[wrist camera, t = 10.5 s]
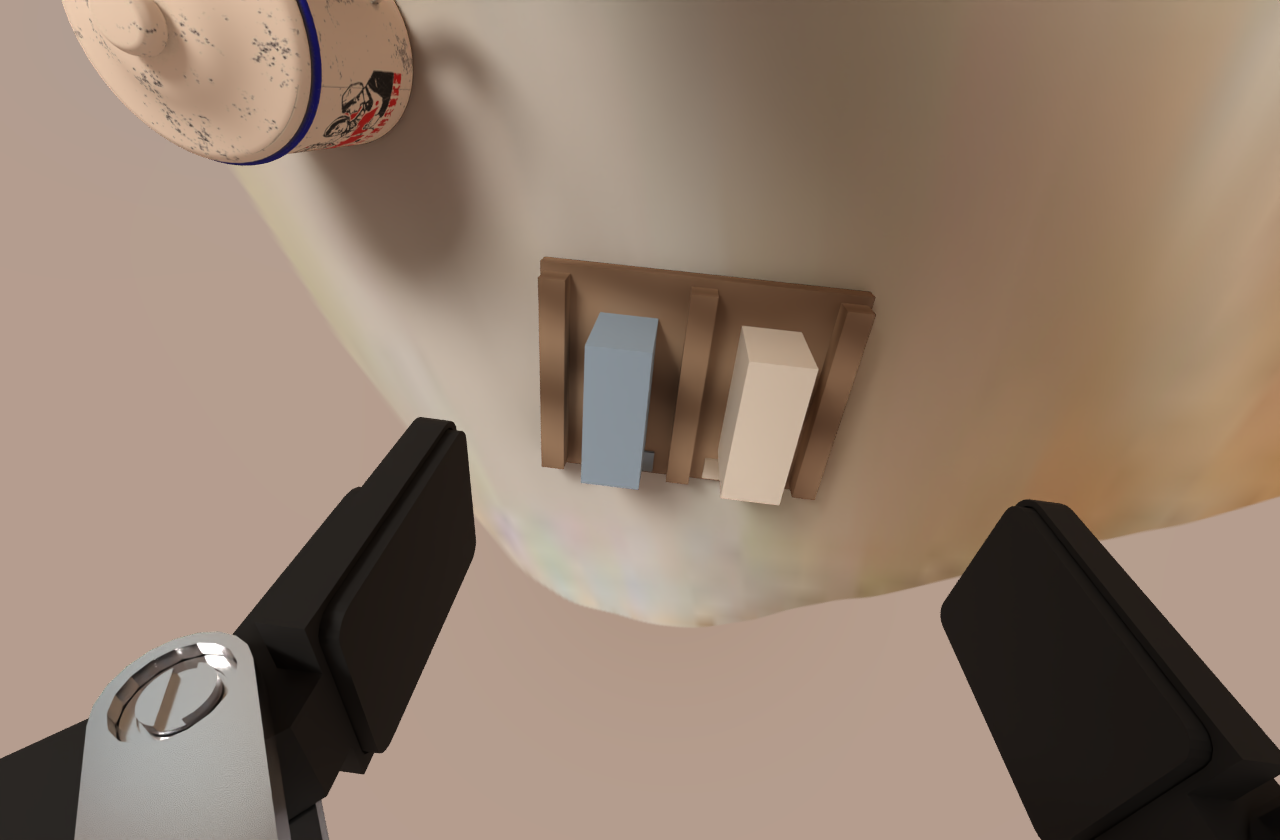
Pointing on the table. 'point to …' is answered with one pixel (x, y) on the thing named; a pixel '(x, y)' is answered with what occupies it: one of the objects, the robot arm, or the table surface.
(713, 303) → the slot rack
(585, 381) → the blue stub
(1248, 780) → the robot arm
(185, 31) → the teacup with lid
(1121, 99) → the table surface
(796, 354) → the ivory stub
